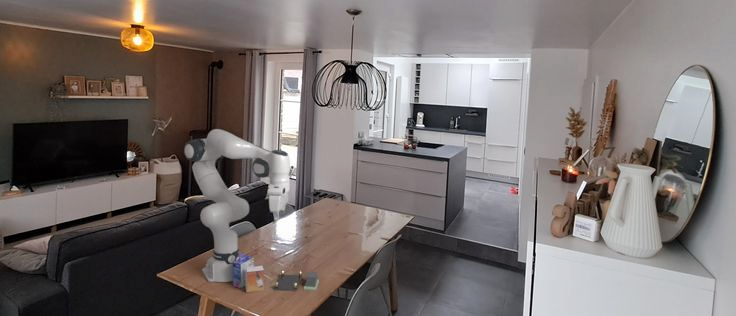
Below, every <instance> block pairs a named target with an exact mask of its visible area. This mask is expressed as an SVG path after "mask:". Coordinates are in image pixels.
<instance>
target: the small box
mask: <svg viewBox="0 0 736 316" xmlns="http://www.w3.org/2000/svg"><path fill="white" fill-rule="evenodd" d="M264 277H265V270H264V267H263V265H257V266H255V265H254V267H246V279H245V286H244V287H245V291H246V293H247V294H249V293H253V292H255V293H256V292H263V291H265V289H264V288H265V287H264V286H265V285H264V284H265V282H264V281H265V278H264Z"/></svg>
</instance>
